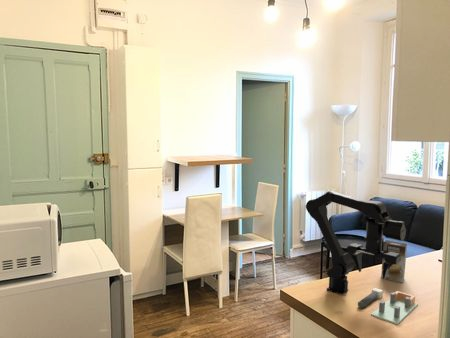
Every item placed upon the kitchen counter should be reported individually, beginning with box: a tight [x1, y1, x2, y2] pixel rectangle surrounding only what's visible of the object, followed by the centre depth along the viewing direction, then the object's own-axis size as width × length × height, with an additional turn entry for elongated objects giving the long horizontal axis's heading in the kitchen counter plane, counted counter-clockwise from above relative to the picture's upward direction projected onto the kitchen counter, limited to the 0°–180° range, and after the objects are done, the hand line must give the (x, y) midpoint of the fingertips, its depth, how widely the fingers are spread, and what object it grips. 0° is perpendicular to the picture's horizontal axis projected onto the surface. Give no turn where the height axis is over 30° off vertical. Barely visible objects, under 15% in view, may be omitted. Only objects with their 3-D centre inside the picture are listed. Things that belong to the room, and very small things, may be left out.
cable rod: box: [357, 287, 384, 309], centre depth 141 cm, size 3×17×2 cm, turn 136°
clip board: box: [370, 290, 419, 325], centre depth 134 cm, size 9×21×4 cm, turn 136°
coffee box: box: [380, 239, 408, 283], centre depth 164 cm, size 9×6×16 cm
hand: (371, 275), depth 141 cm, fingers open, 9 cm apart
